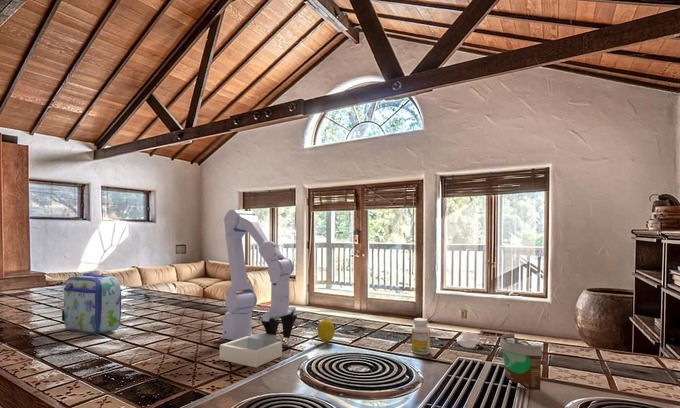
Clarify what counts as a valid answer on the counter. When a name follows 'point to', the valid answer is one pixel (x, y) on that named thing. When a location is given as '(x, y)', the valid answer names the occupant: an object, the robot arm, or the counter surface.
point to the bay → (249, 353)
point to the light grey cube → (260, 341)
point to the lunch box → (92, 303)
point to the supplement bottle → (420, 337)
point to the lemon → (326, 330)
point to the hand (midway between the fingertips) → (279, 340)
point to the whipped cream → (469, 340)
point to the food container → (522, 361)
